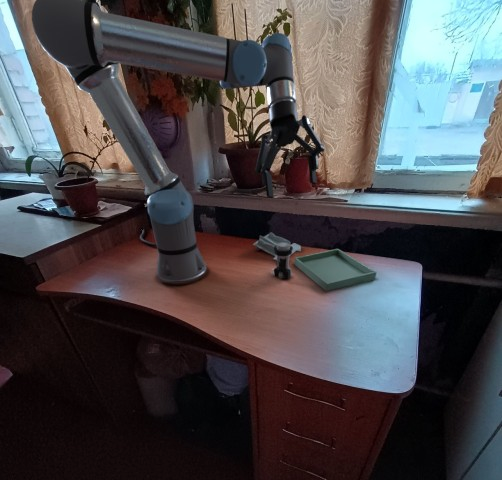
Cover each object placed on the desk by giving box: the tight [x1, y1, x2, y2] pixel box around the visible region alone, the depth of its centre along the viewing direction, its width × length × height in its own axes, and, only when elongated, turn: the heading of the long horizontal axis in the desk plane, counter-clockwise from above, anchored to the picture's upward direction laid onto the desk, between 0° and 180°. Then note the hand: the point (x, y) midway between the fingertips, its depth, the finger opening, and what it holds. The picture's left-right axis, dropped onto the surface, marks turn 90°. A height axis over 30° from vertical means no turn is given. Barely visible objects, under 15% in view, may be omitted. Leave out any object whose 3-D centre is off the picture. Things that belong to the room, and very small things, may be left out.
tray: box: [293, 248, 377, 292], centre depth 94 cm, size 19×16×2 cm
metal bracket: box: [252, 231, 302, 262], centre depth 107 cm, size 14×6×15 cm
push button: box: [270, 242, 293, 281], centre depth 91 cm, size 7×5×10 cm
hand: (291, 190), depth 87 cm, fingers open, 13 cm apart
